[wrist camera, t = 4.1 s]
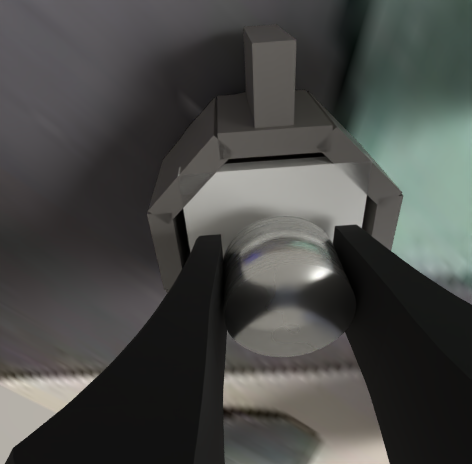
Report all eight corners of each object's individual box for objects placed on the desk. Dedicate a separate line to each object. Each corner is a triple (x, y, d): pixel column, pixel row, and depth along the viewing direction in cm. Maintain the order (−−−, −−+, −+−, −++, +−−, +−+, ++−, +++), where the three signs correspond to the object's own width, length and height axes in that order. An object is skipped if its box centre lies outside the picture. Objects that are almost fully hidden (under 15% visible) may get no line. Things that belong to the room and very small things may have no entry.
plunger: (305, 230, 15) (348, 352, 10) (224, 236, 15) (229, 360, 10) (309, 155, 13) (364, 258, 8) (218, 161, 13) (219, 269, 8)
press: (342, 249, 17) (375, 319, 13) (183, 261, 17) (174, 334, 13) (373, 15, 12) (440, 31, 8) (141, 31, 12) (110, 54, 8)
